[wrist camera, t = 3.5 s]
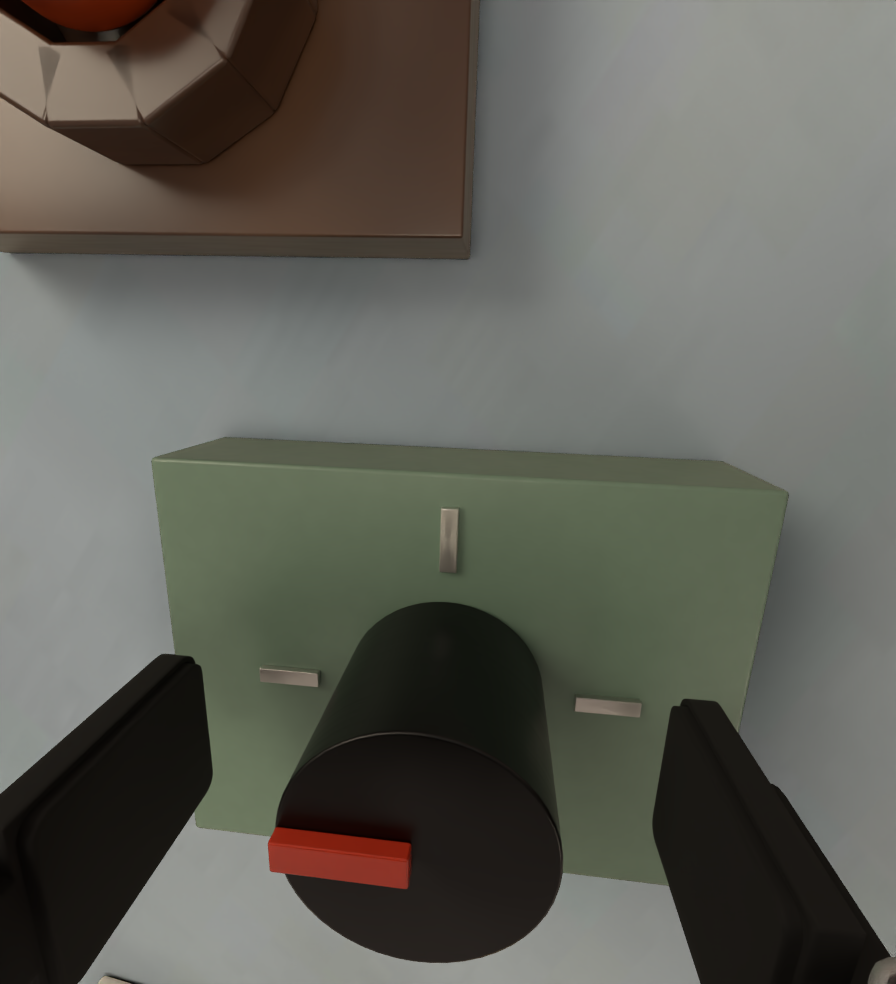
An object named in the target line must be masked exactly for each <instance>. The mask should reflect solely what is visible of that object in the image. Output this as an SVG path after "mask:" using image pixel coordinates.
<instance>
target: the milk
mask: <svg viewBox="0 0 896 984" xmlns="http://www.w3.org/2000/svg"><path fill="white" fill-rule="evenodd" d="M98 984H131V983H128V982H124V981H121V980H118V979H115V978H111V977H108V976H104V977H102V978H101V980H100V981H99V983H98Z"/></svg>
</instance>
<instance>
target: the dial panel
mask: <svg viewBox="0 0 896 984" xmlns="http://www.w3.org/2000/svg"><path fill="white" fill-rule="evenodd" d="M151 462H152V470H153V479H154V487H155V495H156V503H157V511H158V519H159V527H160V535H161V544H162V552H163V560H164V568H165V576H166V584H167V592H168V600H169V608H170V617H171V625H172V633H173V641H174V649H175V655H184V656H191V657H193V659H194V660H195V663H196V664H198V665H200V666H201V668H202V674H203V683H204V692H205V701H206V711H207V720H208V729H209V738H210V748H211V757H212V766H213V777H212V782H211V785H210V787H209V790H208V791H207V793H206V795H205V796H204V798H203V799H202V801H201V802H200V804H199V805H198V807H197V808H196V810H195V811H194V812H195V820H196V826H197V827H199V828H206V829H214V830H222V831H230V832H238V833H246V834H255V835H263V836H272V834H273V832H274V830H275V821H276V815H277V810H278V806H279V803H280V800H281V797H282V794H283V792H284V790H285V788H286V786H287V784H288V782H289V780H290V778H291V776H292V774H293V772H294V770H295V768H296V766H297V764H298V762H299V760H300V758H301V756H302V754H303V752H304V750H305V748H306V746H307V744H308V742H309V741H310V739H311V737H312V735H313V733H314V731H315V729H316V727H317V725H318V723H319V721H320V719H321V717H322V715H323V713H324V711H325V709H326V707H327V705H328V703H329V701H330V699H331V697H332V695H333V693H334V691H335V689H336V687H337V685H338V683H339V681H340V679H341V677H342V675H343V673H344V671H345V669H346V667H347V665H348V663H349V661H350V659H351V657H352V655H353V653H354V651H355V649H356V648H357V646H358V644H359V642H360V640H361V639H362V638H363V636H364V635H365V634H366V633H367V631H368V630H369V629H370V628H371V627H372V626H373V625H375V624H376V623H377V622H378V621H380V620H381V619H382V618H384V617H385V616H387V615H389V614H391V613H393V612H394V611H396V610H399V609H402V608H404V607H407V606H411V605H415V604H419V603H427V602H451V603H458V604H463V605H467V606H471V607H474V608H477V609H479V610H482V611H484V612H487V613H488V614H490V615H492V616H494V617H496V618H498V619H499V620H500V621H502V622H503V623H505V624H506V625H508V626H509V627H510V628H511V629H512V630H513V631H514V632H515V633H516V634H518V636H519V637H520V638H521V639H522V640H523V641H524V643H525V644H526V645H527V647H528V648H529V650H530V651H531V653H532V654H533V656H534V659H535V661H536V663H537V665H538V668H539V671H540V675H541V679H542V686H543V694H544V702H545V710H546V718H547V727H548V735H549V743H550V751H551V759H552V768H553V776H554V784H555V792H556V800H557V808H558V817H559V825H560V833H561V841H562V849H563V873H570V874H578V875H586V876H594V877H602V878H611V879H619V880H627V881H635V882H643V883H651V884H659V885H667V886H669V884H668V881H667V878H666V875H665V872H664V869H663V866H662V863H661V859H660V856H659V853H658V850H657V847H656V844H655V840H654V836H653V829H652V818H653V811H654V805H655V799H656V793H657V787H658V782H659V776H660V770H661V764H662V758H663V752H664V746H665V740H666V734H667V728H668V722H669V716H670V711H671V708H672V707H673V706H680V704H681V702H682V700H683V699H685V698H686V699H697V700H709V701H716V702H718V703H719V705H720V706H721V707H722V709H723V710H724V712H725V714H726V715H727V717H728V718H729V720H730V721H731V723H732V724H733V726H734V728H735V729H736V731H737V732H739V728H740V723H741V718H742V714H743V709H744V704H745V699H746V695H747V690H748V685H749V681H750V676H751V671H752V666H753V662H754V657H755V652H756V648H757V643H758V638H759V633H760V629H761V624H762V619H763V615H764V610H765V605H766V601H767V596H768V591H769V586H770V582H771V577H772V572H773V568H774V563H775V558H776V553H777V549H778V544H779V539H780V535H781V530H782V525H783V520H784V516H785V511H786V506H787V502H788V497H789V495H788V492H787V491H785V490H783V489H781V488H779V487H777V486H774V485H772V484H770V483H768V482H766V481H764V480H762V479H759V478H757V477H755V476H753V475H751V474H749V473H747V472H745V471H742V470H740V469H738V468H736V467H734V466H732V465H730V464H727V463H725V462H723V461H705V460H685V459H664V458H644V457H623V456H602V455H582V454H561V453H540V452H520V451H499V450H478V449H458V448H437V447H417V446H396V445H375V444H355V443H334V442H313V441H293V440H272V439H251V438H231V437H224V438H220V439H217V440H213V441H210V442H206V443H203V444H199V445H196V446H192V447H189V448H185V449H182V450H178V451H175V452H171V453H167V454H164V455H160V456H157V457H154V458H153V459H152V461H151Z"/></svg>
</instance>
